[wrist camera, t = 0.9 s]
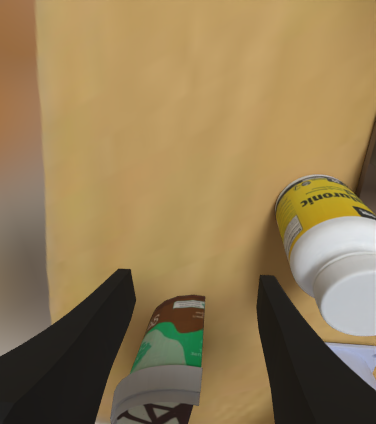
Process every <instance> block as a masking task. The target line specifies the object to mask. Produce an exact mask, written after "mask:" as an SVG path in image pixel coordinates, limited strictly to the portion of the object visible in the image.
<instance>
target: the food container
mask: <svg viewBox="0 0 376 424" xmlns="http://www.w3.org/2000/svg"><path fill="white" fill-rule="evenodd" d="M204 311H205V296H198V295H186V296H177V297H174V298H171V299H169V300H166V301H164V302H163V303H162V304H161V305H159V306H158V307H157V308H156V310H155V311H154V313H153V315H152V318H151V320H150V323H149V325H148V328H147V331H146V333H145V336H144V338H143V341H142V344H141V346H140V349H139V351H138V354H137V357H136V359H135V362H134V364H133V367H132V370H131V372H130V375H128V376H127V377H125V378H124V379H122V381H121V382H120V383H119V384H118V385H117V387H116V389H115V391H114V397H113V403H112V410H111V417H110V419H111V424H188V422H189V418H190V415H191V411H192V408H193V405H197V406H199V398H200V391H201V380H202V369H203V368H201V363H202V346H203V328H204Z"/></svg>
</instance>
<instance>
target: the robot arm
mask: <svg viewBox="0 0 376 424" xmlns="http://www.w3.org/2000/svg"><path fill="white" fill-rule="evenodd" d="M135 302H136V297H135V291H134V286H133V280H132V275H131V269H118V270H117V271H116V272H114V273H113V274H112V275H111V276H110V277H109V278H108V279H107V280H106V281H105V282H104V283H103V284H101V285H100V286H99V287H98V288H97V289H96V290H95V291H94V292H93V293H92V294H90V295H89V296H88V297H87V298H86V299H85V300H84V301H82V302H81V303H80V304H79V305H78V306H76V307H75V308H74V309H73V310H71V311H70V312H69V313H68V314H66V315H65V316H64V317H62V318H61V319H60V320H58V321H57V322H56V323H54V324H53V325H51V326H50V327H48V328H47V329H46V330H44V331H42V332H41V333H39V334H38V335H36V336H34V337H33V338H31V339H30V340H28V341H27V342H25V343H23V344H22V345H20V346H18V347H16V348H15V349H13V350H11V351H9V352H7V353H6V354H4V355H2V356H0V424H95V420H96V417H97V413H98V410H99V406H100V403H101V399H102V396H103V393H104V389H105V386H106V383H107V379H108V376H109V373H110V370H111V368H112V365H113V362H114V360H115V358H116V355H117V353H118V350H119V348H120V345H121V343H122V341H123V338H124V336H125V333H126V331H127V328H128V326H129V323H130V321H131V317H132V314H133V310H134V306H135ZM256 308H257V319H258V328H259V333H260V338H261V343H262V348H263V353H264V357H265V362H266V367H267V372H268V376H269V382H270V387H271V394H272V402H273V411H274V419H275V424H376V380H375V378H374V376H373V374H372V373H373V370H374V368H375V366H376V346H368V345H354V344H341V343H327V342H324V341H323V340H322V339H321V338H320V337H319V336H318V335H317V333H316V332H315V331H314V330H313V329H312V328H311V326H310V325H309V324H308V323H307V322H306V320H305V319H304V318H303V317H302V315H301V314H300V313H299V311H298V310H297V309H296V307H295V306H294V305H293V303H292V302H291V300H290V299H289V298H288V296H287V295H286V293H285V292H284V290H283V289H282V287H281V285H280V284H279V282H278V281H277V279H276V277H275V276H271V275H260V279H259V289H258V298H257V307H256Z"/></svg>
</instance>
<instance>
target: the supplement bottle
mask: <svg viewBox="0 0 376 424" xmlns="http://www.w3.org/2000/svg"><path fill="white" fill-rule="evenodd" d="M275 217H276V221H277V224H278V228H279V231H280V235H281V238H282V241H283V245H284V248H285V251H286V255H287V258H288V262H289V265H290V269H291V272H292V274H293V277H294V279H295V281H296V282H297V284H298V285H299V286H300V288H301V289H302V290H303V291H305V292H306V293H307V294H308V295H310V296H312V297H313V298H315V300H316V303H317V305H318V308H319V310H320V313H321V315H322V317H323V319H324V320H325V321H326V322H327V323H328V324H329V325H330V326H331V327H332V328H334V329H336V330H338V331H340V332H343V333H346V334H350V335H355V336H375V335H376V215H375V214H374V213H373V212H372V211H371V210H370V209H369V208H368V207H367V206H366V205H365V204H364V203H363V202H362V201H361V200H360V199H359V198H358V197H357V196H356V195H355V194H354V193H353V192H352V191H351V190H350V189H349V188H348V187H347V186H346V185H345V184H344V183H342V182H341V181H340V180H338V179H336V178H334V177H331V176H327V175H319V174H316V175H308V176H304V177H301V178H299V179H297V180H295V181H293V182H292V183H290V184H289V185H288V186H287V187H285V189H284V190H283V191H282V192H281V194H280V195H279V197H278V199H277V202H276V206H275Z"/></svg>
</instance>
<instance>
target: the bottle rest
mask: <svg viewBox="0 0 376 424" xmlns="http://www.w3.org/2000/svg"><path fill="white" fill-rule="evenodd" d="M356 196H357V197H358V198H359V199H360V200H361V201H362V202H363V203H364V204H365V205H366V206H367V207H368V208H369V209H370V210H371V211H372V212H373V213H374V214H375V215H376V121H375V125H374V129H373V132H372V136H371V140H370V143H369V147H368V151H367V154H366V158H365V162H364V165H363V169H362V173H361V176H360V180H359V184H358V187H357V191H356Z"/></svg>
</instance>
